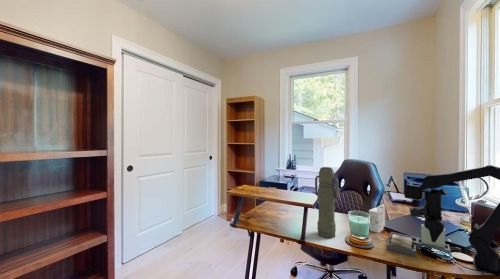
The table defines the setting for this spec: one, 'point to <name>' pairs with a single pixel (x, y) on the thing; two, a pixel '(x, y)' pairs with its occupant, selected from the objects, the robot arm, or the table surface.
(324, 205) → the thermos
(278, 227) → the table surface
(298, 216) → the table surface
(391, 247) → the rack
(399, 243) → the block
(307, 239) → the table surface
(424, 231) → the pale grey block
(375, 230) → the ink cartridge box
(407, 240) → the offcut top
